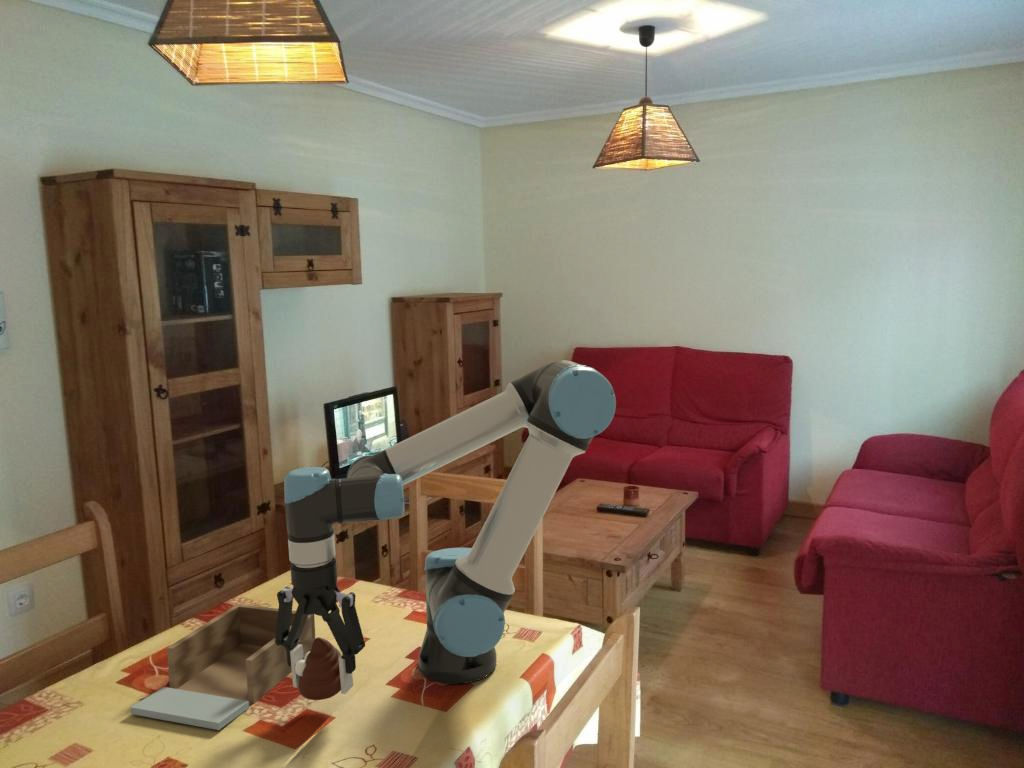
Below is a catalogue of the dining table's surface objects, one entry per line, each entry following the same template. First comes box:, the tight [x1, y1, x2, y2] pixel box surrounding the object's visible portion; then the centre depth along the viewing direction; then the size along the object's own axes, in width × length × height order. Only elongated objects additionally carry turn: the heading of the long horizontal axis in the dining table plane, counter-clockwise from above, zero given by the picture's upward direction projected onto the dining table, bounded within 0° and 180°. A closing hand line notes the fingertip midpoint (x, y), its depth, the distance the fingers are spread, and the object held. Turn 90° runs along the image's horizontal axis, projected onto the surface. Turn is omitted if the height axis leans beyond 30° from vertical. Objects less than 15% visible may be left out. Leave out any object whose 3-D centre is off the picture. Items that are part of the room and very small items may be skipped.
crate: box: [166, 603, 316, 704], centre depth 150 cm, size 20×18×9 cm
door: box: [130, 686, 250, 731], centre depth 136 cm, size 1×18×8 cm
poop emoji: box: [295, 637, 342, 701], centre depth 134 cm, size 10×8×9 cm
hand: (323, 686), depth 135 cm, fingers closed on poop emoji, 9 cm apart
